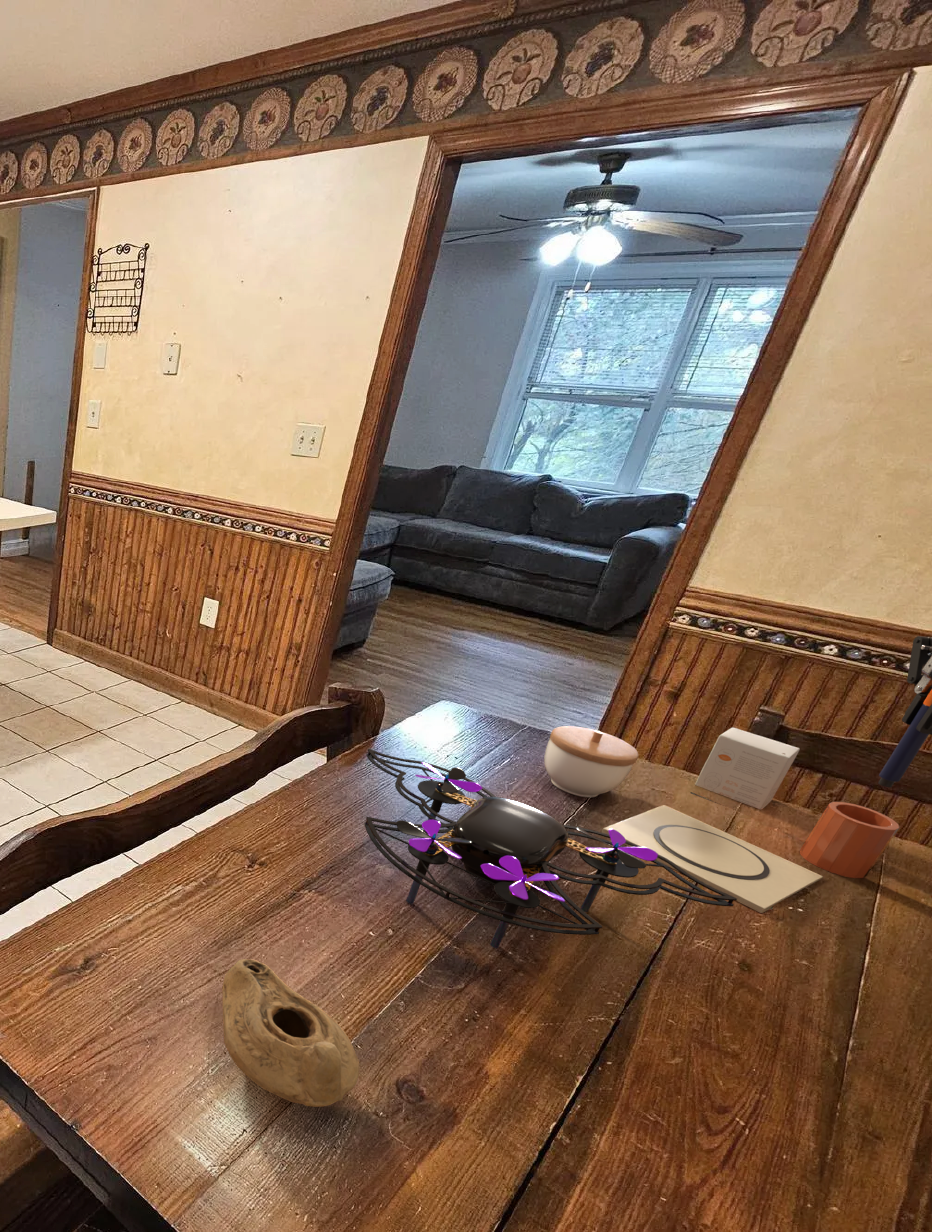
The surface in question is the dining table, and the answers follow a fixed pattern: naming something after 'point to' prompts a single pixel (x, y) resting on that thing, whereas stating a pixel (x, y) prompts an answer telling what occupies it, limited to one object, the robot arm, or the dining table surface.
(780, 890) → the drawing pad
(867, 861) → the pen cup
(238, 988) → the oil lamp
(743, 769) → the small box
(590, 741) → the trinket box
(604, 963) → the dining table surface
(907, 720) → the robot arm
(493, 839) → the drone
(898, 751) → the marker
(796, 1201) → the dining table surface
